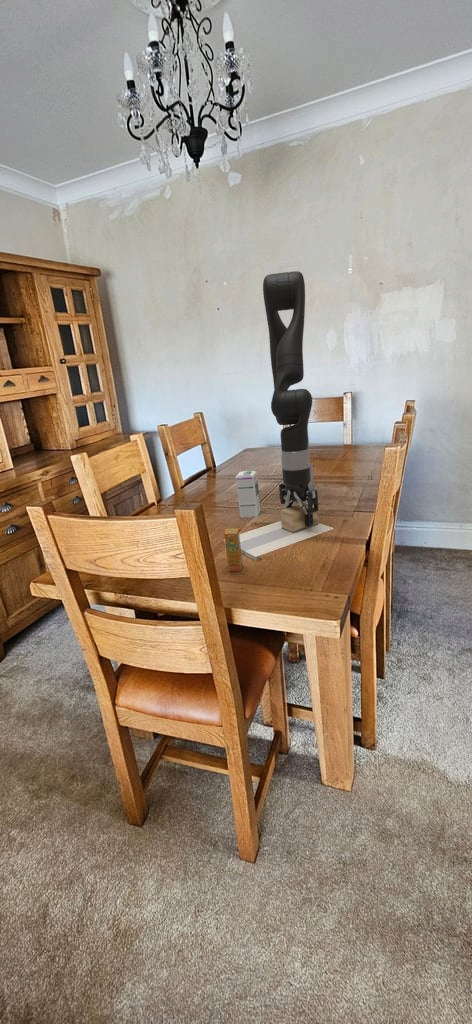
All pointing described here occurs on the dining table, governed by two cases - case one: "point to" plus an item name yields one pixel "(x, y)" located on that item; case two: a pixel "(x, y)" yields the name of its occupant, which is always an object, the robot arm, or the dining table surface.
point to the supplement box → (233, 549)
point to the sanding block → (295, 519)
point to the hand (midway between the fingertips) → (299, 522)
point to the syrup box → (248, 494)
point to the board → (274, 538)
